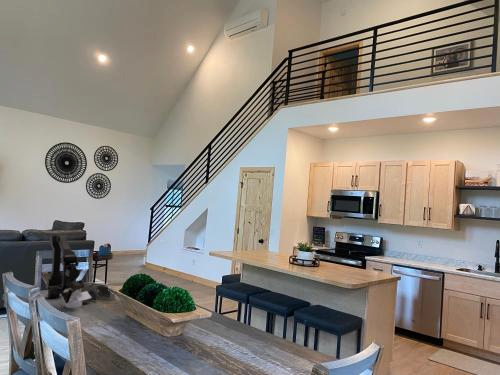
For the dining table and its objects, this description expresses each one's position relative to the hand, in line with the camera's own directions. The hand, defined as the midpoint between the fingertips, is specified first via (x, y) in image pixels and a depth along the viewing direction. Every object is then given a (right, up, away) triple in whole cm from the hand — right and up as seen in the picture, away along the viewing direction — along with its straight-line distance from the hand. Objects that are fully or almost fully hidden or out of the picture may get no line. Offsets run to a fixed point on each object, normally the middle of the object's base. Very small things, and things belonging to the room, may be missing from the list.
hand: (66, 302), depth 208 cm
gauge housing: (+9, -4, +22) cm, 24 cm away
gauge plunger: (+7, -3, +18) cm, 19 cm away
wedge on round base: (+3, -4, +7) cm, 8 cm away
